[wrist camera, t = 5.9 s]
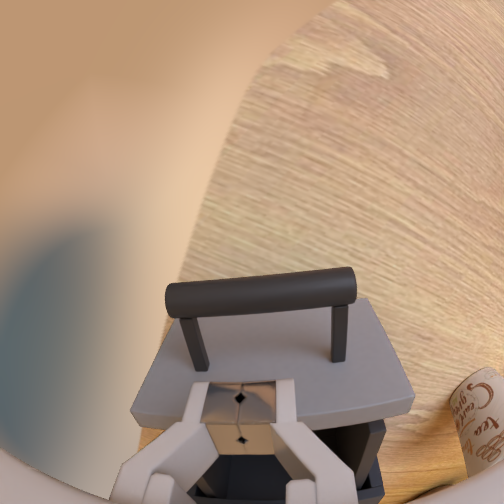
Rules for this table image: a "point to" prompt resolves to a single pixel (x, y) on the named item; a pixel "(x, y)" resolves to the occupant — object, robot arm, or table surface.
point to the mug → (480, 419)
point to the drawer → (280, 367)
